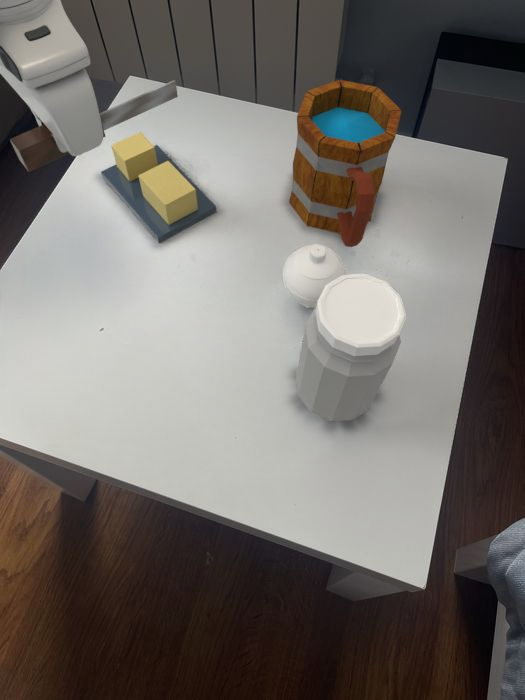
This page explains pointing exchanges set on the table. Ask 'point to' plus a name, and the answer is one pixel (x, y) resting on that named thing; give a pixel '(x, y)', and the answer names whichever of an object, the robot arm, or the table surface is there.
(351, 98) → the mug
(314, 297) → the spinning top
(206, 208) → the butter dish
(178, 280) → the table surface
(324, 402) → the jar
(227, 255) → the table surface
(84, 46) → the robot arm
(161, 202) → the butter block
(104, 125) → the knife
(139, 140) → the block
